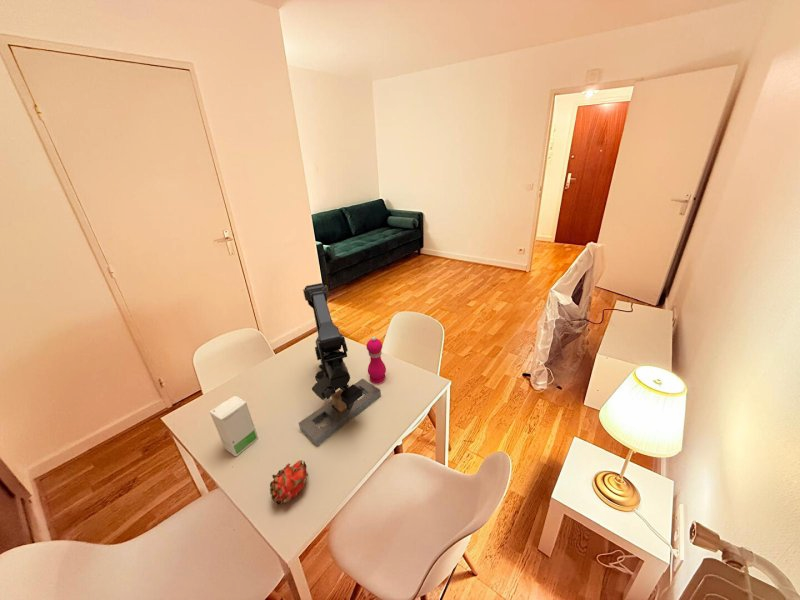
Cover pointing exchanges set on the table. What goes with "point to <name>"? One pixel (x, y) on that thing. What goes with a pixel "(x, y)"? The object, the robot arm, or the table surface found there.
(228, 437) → the skincare box
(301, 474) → the dragon fruit
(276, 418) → the table surface
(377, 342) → the pepper mill
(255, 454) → the table surface
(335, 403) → the walnut peg
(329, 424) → the grey peg hole board
